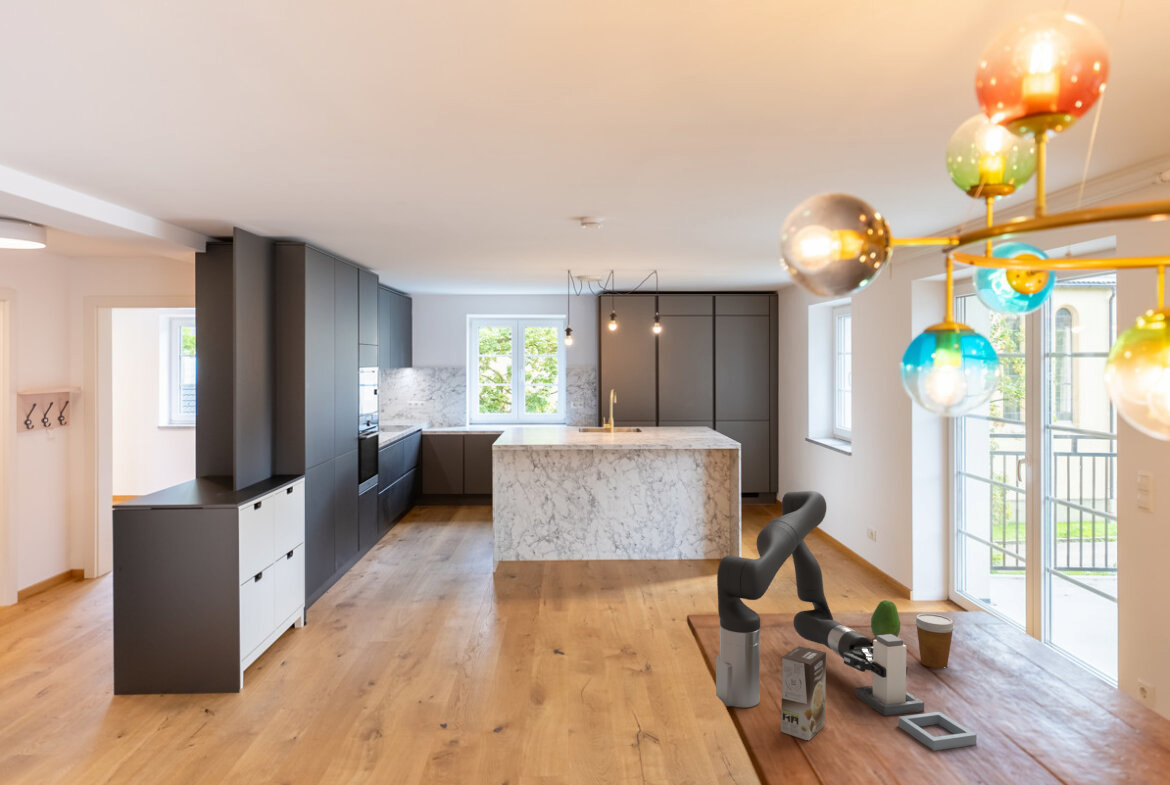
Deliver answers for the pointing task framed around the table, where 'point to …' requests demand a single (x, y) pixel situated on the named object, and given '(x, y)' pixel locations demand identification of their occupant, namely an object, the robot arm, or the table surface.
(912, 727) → the front socket
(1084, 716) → the table surface
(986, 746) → the table surface
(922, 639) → the disposable coffee cup
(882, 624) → the avocado
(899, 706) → the back socket
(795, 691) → the coffee box
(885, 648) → the plug
